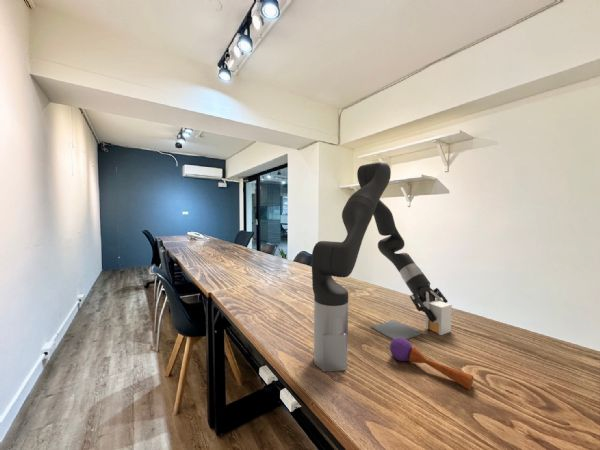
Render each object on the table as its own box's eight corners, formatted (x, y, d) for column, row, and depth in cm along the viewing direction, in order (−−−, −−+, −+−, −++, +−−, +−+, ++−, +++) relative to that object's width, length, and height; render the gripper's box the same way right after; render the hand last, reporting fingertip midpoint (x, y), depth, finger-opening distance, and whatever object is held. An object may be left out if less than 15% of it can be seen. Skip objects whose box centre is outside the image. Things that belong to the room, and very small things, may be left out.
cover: (450, 331, 89) (451, 304, 89) (440, 335, 87) (441, 307, 86) (435, 325, 94) (436, 299, 94) (425, 328, 92) (426, 302, 91)
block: (447, 331, 90) (447, 320, 90) (440, 334, 88) (440, 322, 88) (436, 327, 93) (436, 316, 93) (429, 329, 91) (429, 318, 91)
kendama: (468, 380, 58) (386, 340, 72) (466, 401, 59) (386, 358, 74) (475, 364, 62) (396, 330, 76) (473, 385, 63) (396, 347, 77)
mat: (422, 334, 88) (422, 332, 87) (398, 342, 82) (398, 341, 82) (394, 320, 98) (394, 319, 98) (370, 327, 92) (370, 326, 92)
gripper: (407, 275, 93) (436, 317, 83) (432, 270, 100) (462, 310, 90) (395, 285, 98) (421, 327, 88) (420, 281, 104) (446, 319, 95)
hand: (442, 318), depth 89 cm, fingers open, 8 cm apart
